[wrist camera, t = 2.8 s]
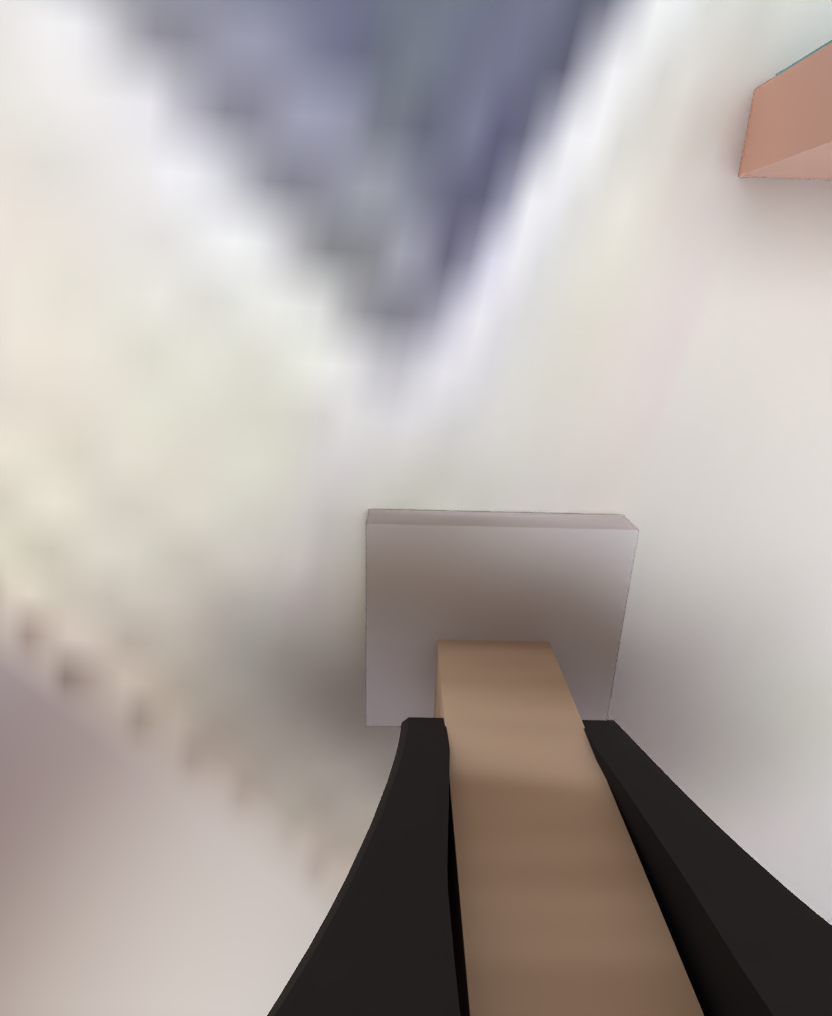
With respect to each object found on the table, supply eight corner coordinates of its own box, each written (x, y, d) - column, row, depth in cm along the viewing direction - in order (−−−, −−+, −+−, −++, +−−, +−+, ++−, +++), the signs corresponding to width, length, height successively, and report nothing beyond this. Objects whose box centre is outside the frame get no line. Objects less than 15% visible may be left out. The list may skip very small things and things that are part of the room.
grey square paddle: (592, 708, 13) (850, 1275, 5) (368, 704, 13) (311, 1279, 5) (624, 515, 11) (1045, 930, 4) (369, 509, 11) (289, 923, 4)
